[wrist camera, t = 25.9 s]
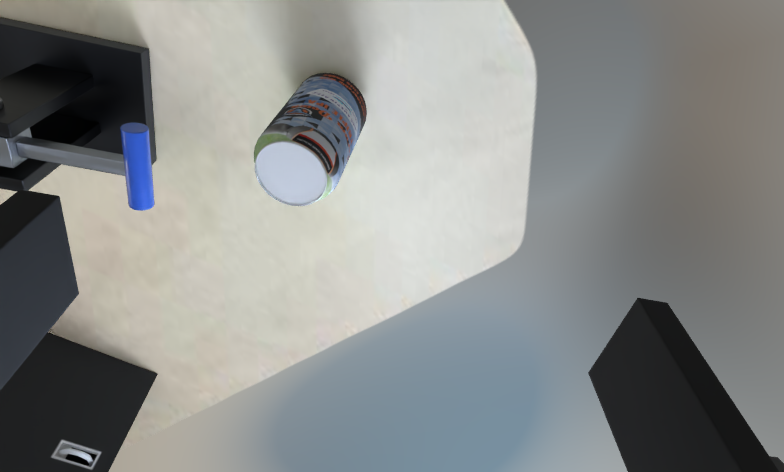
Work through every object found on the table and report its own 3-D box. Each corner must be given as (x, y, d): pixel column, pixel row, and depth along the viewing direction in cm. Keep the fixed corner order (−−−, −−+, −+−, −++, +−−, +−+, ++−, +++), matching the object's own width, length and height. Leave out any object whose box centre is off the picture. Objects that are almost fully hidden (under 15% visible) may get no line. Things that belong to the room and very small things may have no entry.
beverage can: (381, 113, 42) (376, 180, 32) (315, 158, 44) (291, 232, 34) (335, 50, 39) (314, 102, 29) (267, 102, 41) (226, 166, 32)
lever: (155, 123, 33) (139, 137, 31) (160, 198, 37) (146, 215, 35) (-22, 88, 32) (-50, 101, 30) (0, 169, 35) (-24, 185, 34)
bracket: (149, 48, 39) (66, 98, 29) (156, 160, 45) (89, 233, 35) (-12, 14, 38) (-155, 54, 28) (16, 134, 43) (-94, 202, 34)
